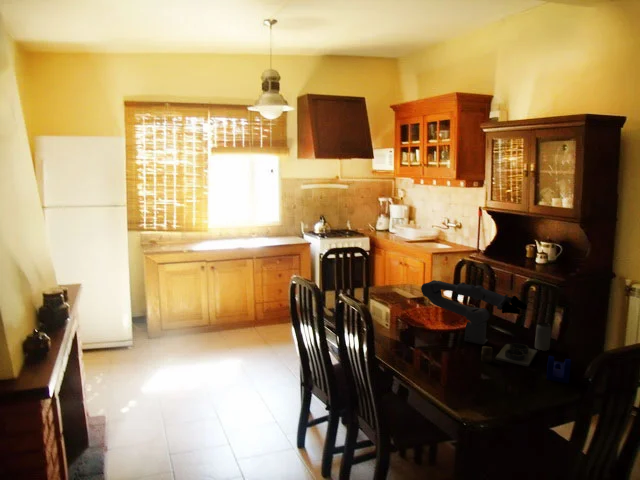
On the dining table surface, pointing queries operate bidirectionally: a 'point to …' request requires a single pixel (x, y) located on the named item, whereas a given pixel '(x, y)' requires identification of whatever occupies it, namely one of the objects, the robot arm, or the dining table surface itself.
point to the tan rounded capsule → (486, 354)
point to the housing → (517, 354)
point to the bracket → (558, 370)
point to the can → (543, 336)
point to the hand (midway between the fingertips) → (523, 309)
